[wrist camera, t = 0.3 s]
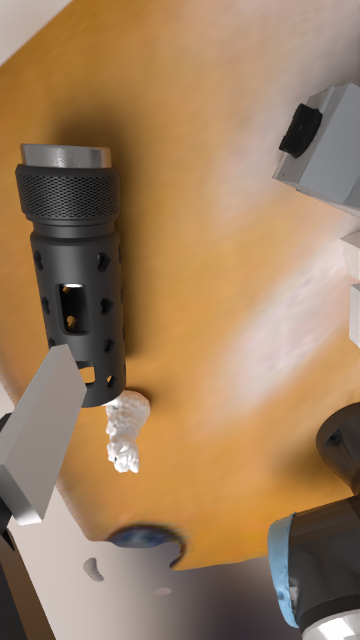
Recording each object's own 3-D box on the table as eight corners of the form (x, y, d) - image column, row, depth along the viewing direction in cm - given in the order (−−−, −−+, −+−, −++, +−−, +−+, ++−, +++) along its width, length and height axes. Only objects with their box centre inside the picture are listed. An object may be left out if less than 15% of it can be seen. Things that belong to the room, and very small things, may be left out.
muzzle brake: (66, 360, 48) (43, 410, 38) (35, 144, 35) (-11, 141, 26) (131, 361, 48) (124, 410, 39) (124, 148, 35) (111, 147, 26)
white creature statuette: (87, 386, 50) (66, 450, 39) (140, 372, 49) (133, 433, 38) (110, 429, 54) (97, 497, 44) (159, 416, 53) (158, 482, 43)
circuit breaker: (281, 95, 34) (358, 58, 20) (391, 150, 36) (521, 150, 23) (249, 169, 37) (297, 179, 23) (352, 215, 40) (448, 247, 26)
